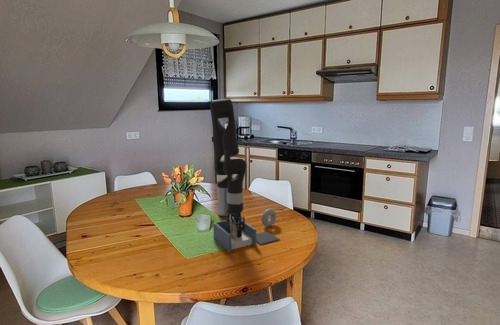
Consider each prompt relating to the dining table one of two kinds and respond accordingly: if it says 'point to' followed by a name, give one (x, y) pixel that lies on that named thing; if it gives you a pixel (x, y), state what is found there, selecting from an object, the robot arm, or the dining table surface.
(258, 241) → the rubber mat
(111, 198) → the dining table surface
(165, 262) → the dining table surface
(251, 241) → the slot box
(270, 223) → the donut
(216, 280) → the dining table surface
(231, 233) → the maple block
